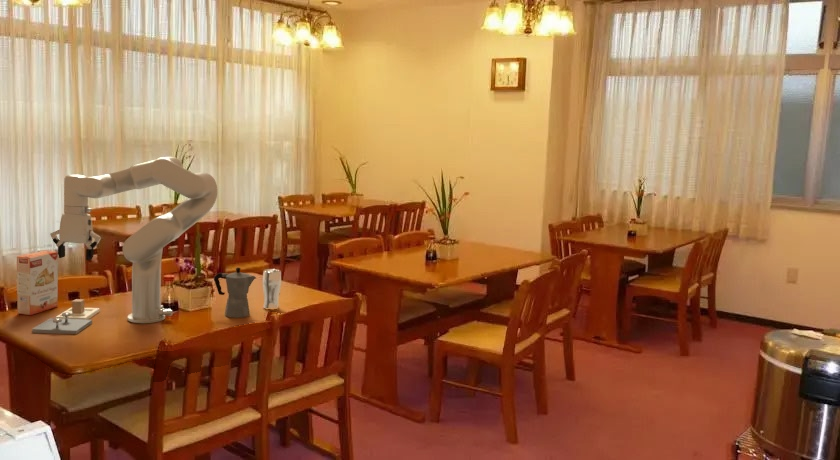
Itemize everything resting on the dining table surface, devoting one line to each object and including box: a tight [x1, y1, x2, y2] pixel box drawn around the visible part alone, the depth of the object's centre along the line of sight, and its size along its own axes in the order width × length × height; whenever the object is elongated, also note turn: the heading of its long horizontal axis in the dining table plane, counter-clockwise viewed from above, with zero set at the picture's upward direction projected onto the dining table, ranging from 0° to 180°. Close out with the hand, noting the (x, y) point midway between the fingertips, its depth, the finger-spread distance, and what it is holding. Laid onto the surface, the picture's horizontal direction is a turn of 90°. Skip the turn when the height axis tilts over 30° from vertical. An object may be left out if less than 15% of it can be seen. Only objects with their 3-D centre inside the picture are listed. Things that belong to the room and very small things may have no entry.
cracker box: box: [16, 250, 59, 316], centre depth 255 cm, size 14×6×21 cm, turn 168°
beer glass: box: [262, 268, 282, 308], centre depth 275 cm, size 7×7×15 cm
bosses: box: [53, 312, 71, 328], centre depth 237 cm, size 3×10×3 cm, turn 4°
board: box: [31, 317, 93, 335], centre depth 237 cm, size 14×13×1 cm
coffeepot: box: [213, 267, 257, 319], centre depth 263 cm, size 15×9×18 cm, turn 92°
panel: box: [55, 298, 101, 320], centre depth 252 cm, size 10×13×6 cm
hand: (75, 258), depth 249 cm, fingers open, 9 cm apart
